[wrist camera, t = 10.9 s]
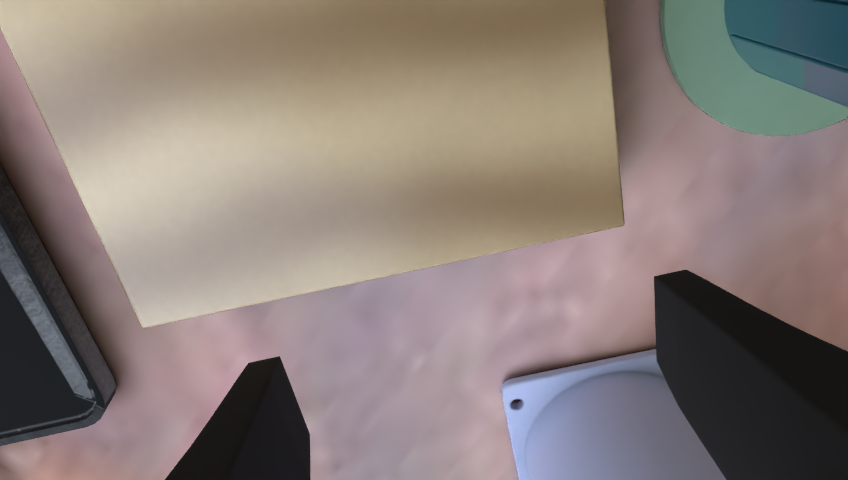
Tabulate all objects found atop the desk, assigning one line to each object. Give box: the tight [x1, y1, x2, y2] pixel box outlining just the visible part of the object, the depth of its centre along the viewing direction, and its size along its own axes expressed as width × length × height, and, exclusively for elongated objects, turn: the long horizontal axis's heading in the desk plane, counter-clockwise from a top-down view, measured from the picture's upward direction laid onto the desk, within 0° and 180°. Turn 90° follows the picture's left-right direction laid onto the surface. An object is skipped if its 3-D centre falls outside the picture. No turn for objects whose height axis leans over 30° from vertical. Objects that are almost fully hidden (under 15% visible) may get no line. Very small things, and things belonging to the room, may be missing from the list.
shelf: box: [0, 0, 624, 328], centre depth 18 cm, size 14×15×5 cm
